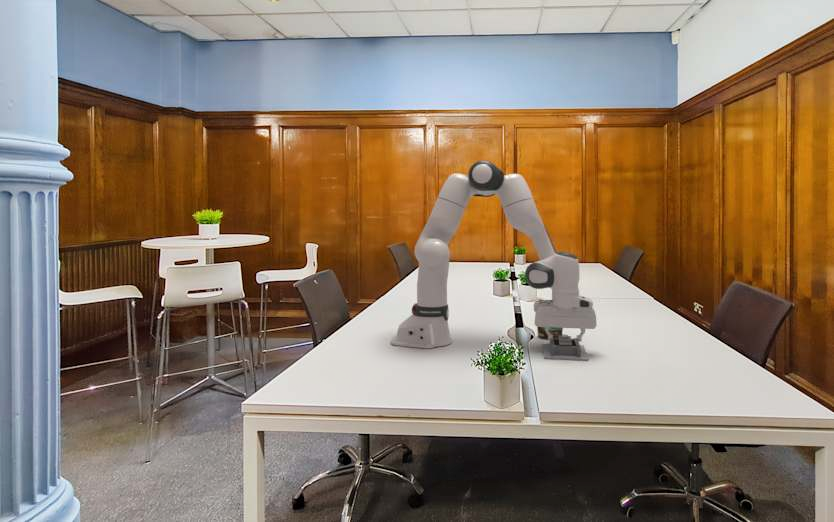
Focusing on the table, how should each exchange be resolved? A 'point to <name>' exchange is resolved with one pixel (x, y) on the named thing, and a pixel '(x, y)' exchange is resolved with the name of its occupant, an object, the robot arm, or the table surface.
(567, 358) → the pocket
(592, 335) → the table surface
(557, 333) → the food container
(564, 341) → the servo
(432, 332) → the robot arm
